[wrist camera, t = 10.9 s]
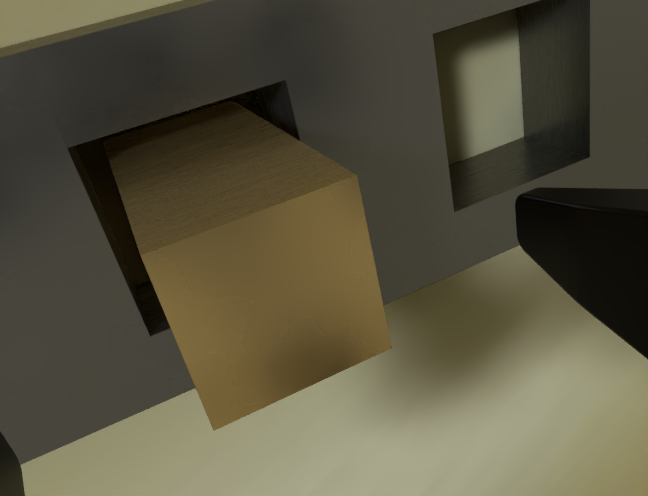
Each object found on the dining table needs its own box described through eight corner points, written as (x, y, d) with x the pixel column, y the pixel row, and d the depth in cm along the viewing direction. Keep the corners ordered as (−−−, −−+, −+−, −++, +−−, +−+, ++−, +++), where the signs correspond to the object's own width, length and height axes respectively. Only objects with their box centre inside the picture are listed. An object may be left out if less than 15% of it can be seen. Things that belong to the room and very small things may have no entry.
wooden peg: (231, 100, 16) (357, 175, 10) (264, 214, 18) (392, 348, 11) (102, 140, 15) (140, 255, 9) (150, 257, 17) (213, 431, 10)
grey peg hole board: (603, -110, 18) (691, -126, 16) (600, 158, 23) (670, 178, 20) (-675, 224, 11) (-901, 296, 8) (-319, 536, 15) (-396, 647, 12)
